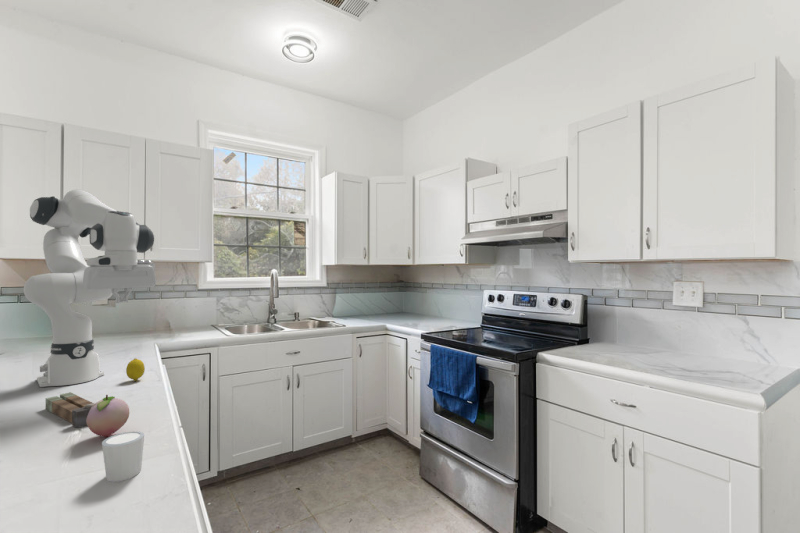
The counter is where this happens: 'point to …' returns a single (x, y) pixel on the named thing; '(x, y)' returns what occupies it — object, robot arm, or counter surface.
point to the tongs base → (68, 411)
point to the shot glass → (123, 455)
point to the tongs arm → (75, 399)
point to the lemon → (135, 369)
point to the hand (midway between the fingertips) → (121, 302)
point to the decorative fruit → (107, 416)
